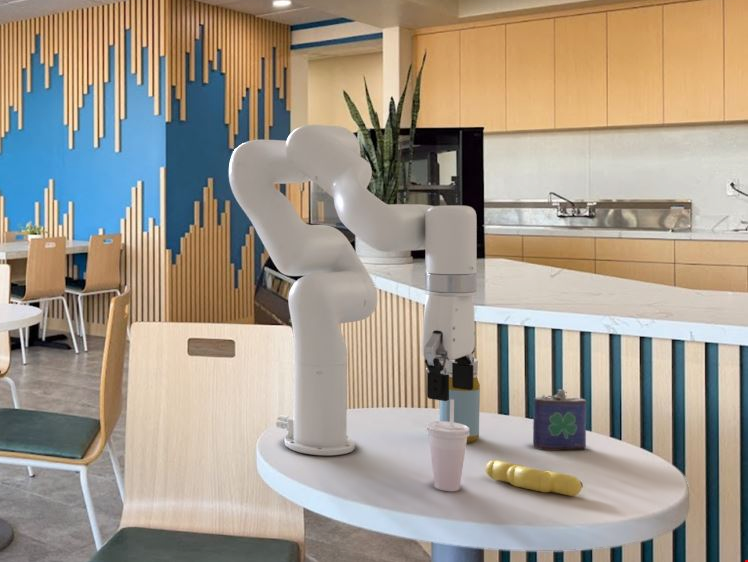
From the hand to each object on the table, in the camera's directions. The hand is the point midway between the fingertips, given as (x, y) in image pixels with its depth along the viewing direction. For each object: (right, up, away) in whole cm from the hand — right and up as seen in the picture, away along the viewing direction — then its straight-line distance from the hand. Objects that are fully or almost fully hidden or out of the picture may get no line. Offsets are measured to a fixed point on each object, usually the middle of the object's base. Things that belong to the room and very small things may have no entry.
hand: (450, 394), depth 135 cm
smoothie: (0, -15, +1) cm, 15 cm away
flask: (+28, -14, +22) cm, 38 cm away
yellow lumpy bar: (+13, -15, 0) cm, 19 cm away
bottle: (+12, -14, +28) cm, 33 cm away
